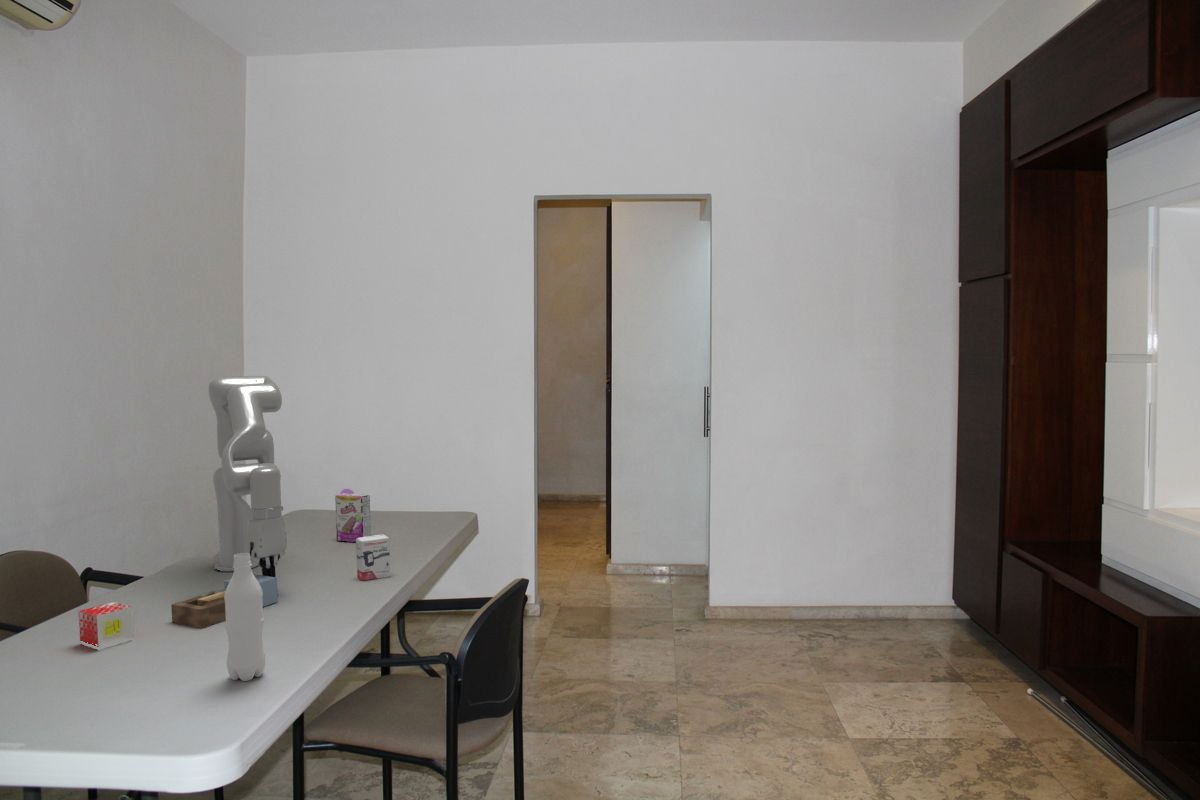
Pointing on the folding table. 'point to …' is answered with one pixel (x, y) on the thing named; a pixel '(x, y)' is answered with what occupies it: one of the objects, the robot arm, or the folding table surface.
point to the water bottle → (244, 621)
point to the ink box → (373, 557)
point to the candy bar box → (352, 516)
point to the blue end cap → (264, 588)
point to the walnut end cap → (198, 612)
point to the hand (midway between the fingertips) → (269, 581)
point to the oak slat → (211, 599)
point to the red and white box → (106, 624)
